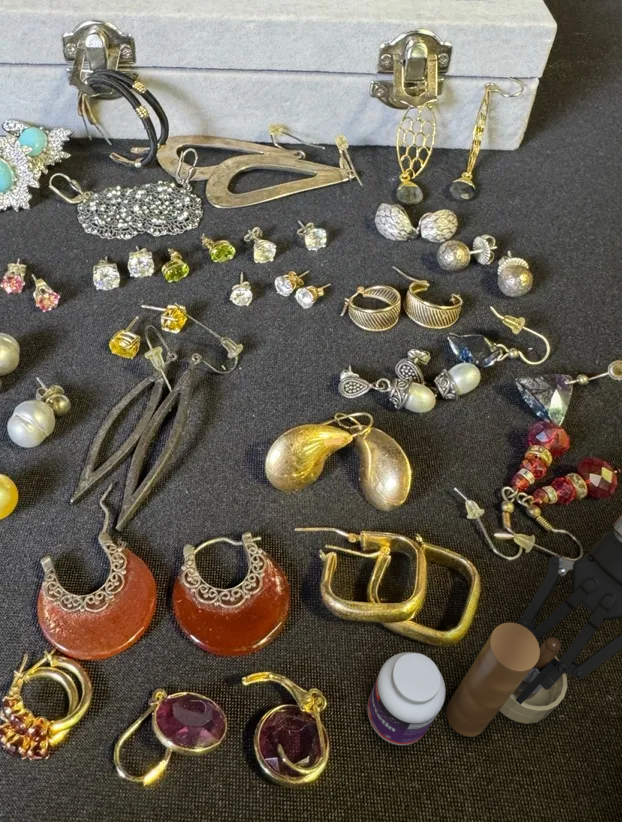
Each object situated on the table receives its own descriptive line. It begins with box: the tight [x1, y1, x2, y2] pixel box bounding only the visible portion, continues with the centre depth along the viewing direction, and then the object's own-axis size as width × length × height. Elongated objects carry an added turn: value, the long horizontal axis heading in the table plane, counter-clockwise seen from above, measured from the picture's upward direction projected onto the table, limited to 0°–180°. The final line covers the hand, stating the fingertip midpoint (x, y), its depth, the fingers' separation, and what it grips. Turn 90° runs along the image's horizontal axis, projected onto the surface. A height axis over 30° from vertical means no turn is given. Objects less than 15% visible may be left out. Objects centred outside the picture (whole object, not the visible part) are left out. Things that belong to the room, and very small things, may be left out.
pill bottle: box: [366, 651, 446, 746], centre depth 99 cm, size 8×8×14 cm
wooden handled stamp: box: [513, 636, 562, 699], centre depth 100 cm, size 4×4×15 cm
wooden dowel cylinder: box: [445, 621, 540, 738], centre depth 95 cm, size 5×5×24 cm
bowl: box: [498, 654, 568, 725], centre depth 104 cm, size 9×9×6 cm
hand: (513, 691), depth 100 cm, fingers closed on wooden handled stamp, 2 cm apart
